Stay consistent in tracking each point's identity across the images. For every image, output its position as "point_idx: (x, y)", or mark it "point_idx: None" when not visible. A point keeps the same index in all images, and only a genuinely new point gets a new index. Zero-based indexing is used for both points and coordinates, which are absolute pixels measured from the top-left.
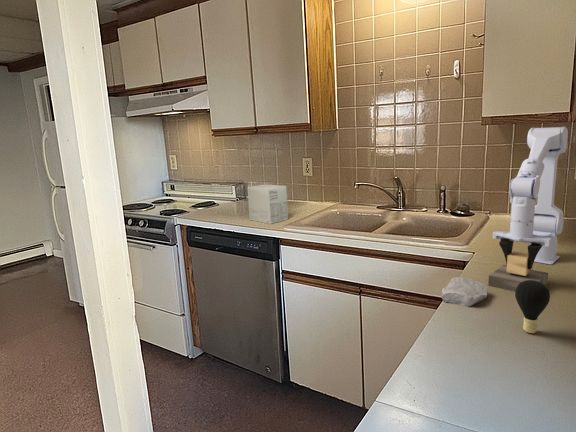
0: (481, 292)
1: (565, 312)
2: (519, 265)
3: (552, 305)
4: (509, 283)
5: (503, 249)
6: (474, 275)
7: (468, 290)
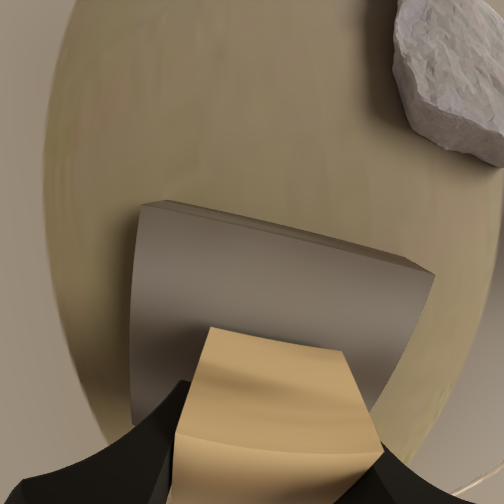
0: (420, 36)
1: (66, 75)
2: (257, 385)
3: (96, 114)
4: (310, 237)
5: (428, 492)
6: (441, 359)
7: (459, 11)
